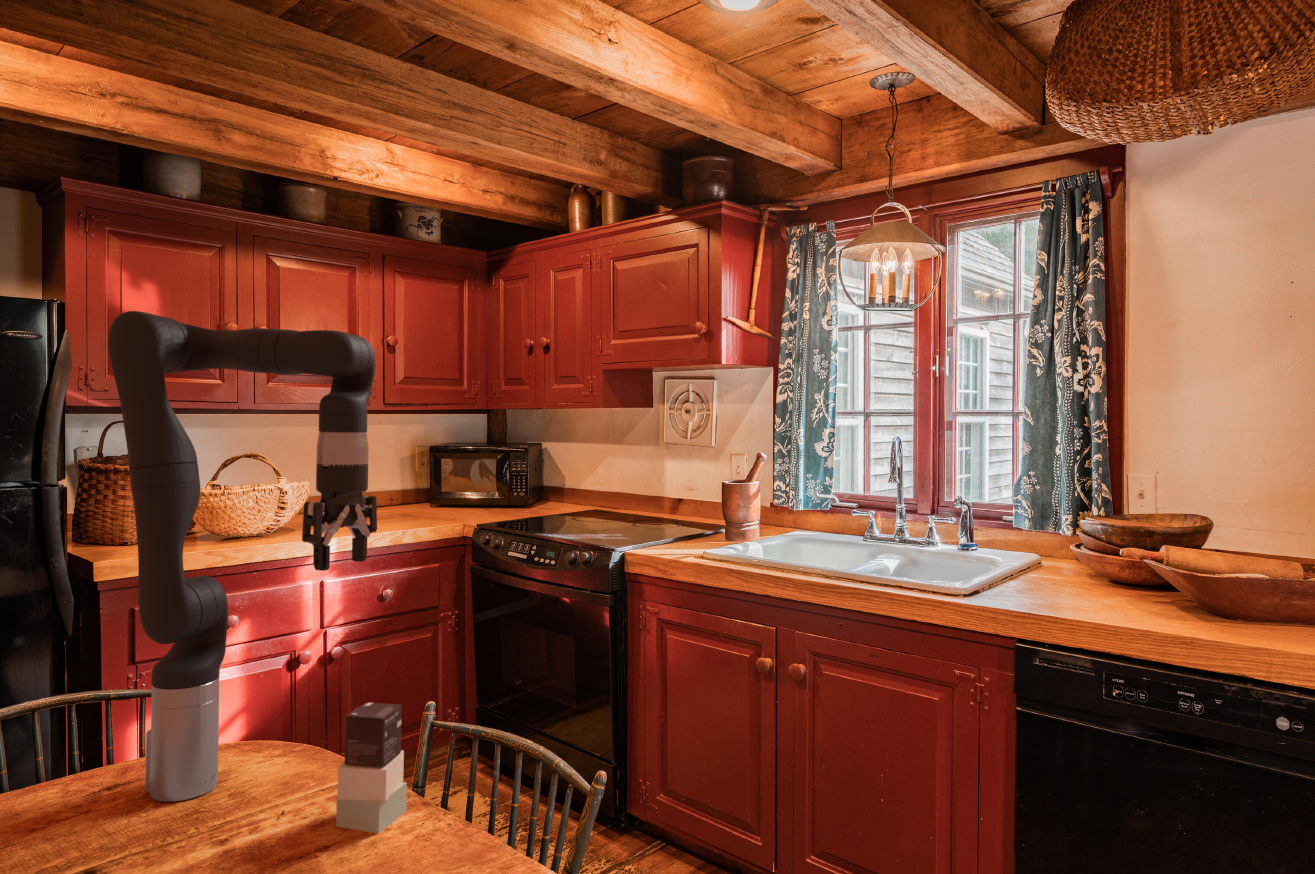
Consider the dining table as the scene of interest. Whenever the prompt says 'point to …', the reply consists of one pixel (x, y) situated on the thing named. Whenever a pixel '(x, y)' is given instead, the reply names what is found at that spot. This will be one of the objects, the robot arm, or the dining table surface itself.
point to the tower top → (370, 780)
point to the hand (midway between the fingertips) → (341, 565)
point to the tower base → (372, 811)
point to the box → (373, 735)
